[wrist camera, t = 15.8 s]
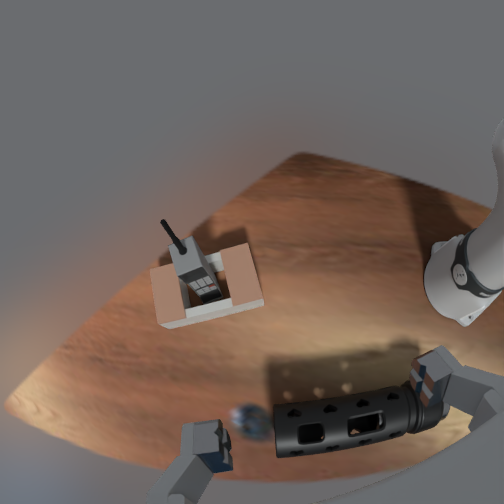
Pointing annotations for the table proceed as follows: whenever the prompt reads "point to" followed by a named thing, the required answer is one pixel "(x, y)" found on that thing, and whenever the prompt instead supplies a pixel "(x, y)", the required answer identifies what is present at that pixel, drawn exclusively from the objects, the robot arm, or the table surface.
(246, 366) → the table surface
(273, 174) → the table surface
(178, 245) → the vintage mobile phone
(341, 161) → the table surface
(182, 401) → the table surface
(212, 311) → the tan rectangular frame
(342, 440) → the muzzle brake
